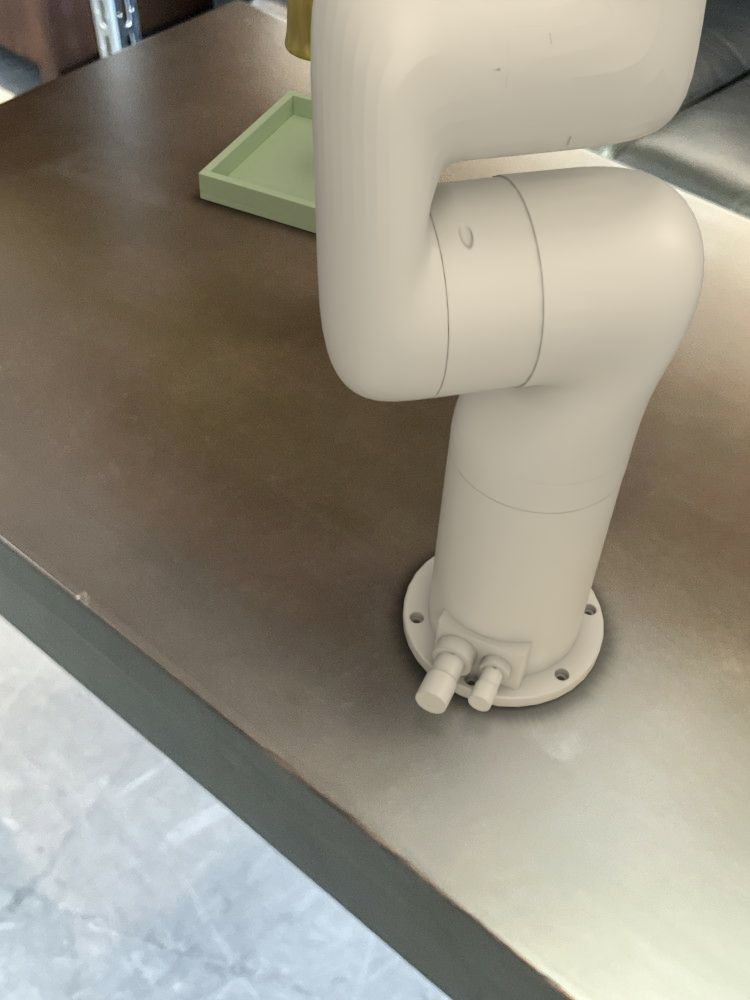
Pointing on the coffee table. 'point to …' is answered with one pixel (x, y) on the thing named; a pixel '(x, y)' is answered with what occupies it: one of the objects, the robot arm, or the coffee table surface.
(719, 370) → the coffee table surface
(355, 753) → the coffee table surface
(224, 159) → the tray
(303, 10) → the vase
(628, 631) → the coffee table surface
